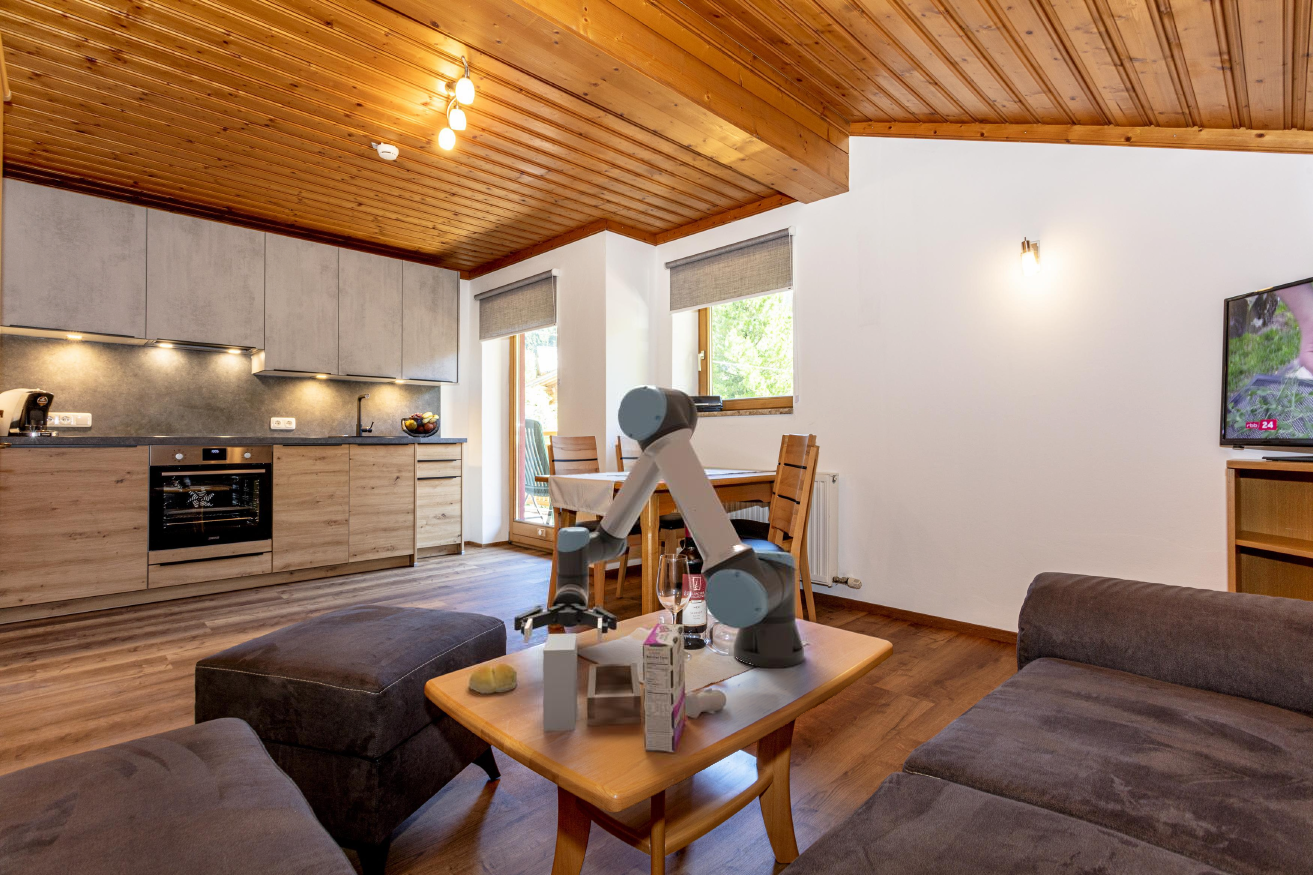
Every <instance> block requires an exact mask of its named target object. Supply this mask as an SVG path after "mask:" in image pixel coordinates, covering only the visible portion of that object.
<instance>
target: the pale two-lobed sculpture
mask: <svg viewBox="0 0 1313 875" xmlns="http://www.w3.org/2000/svg"><path fill="white" fill-rule="evenodd" d="M726 696H727V695H726V694H725V693H724V692H723V691H722V690H720V689H716V688H715V689H713V688H711V687H710V688H708V689H705V690H702V691H700V692H699V693H697V694H696V693H694V691H688V692H687V693H686V694H685V715H686V716H688V717H690V718H692V719H694V720H695V719H697V718H698V717H699V715H700V713H702V712H703V713H705V712H706V713H708V714H710V715H711V714H716V712H717V711H720V710H722V709H723V708H724V707H725V706H726V704H727V697H726Z"/></svg>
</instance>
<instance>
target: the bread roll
mask: <svg viewBox="0 0 1313 875" xmlns="http://www.w3.org/2000/svg"><path fill="white" fill-rule="evenodd" d="M517 674H518V673H517V669H515V668H514V667H512V666H511V665H510V664H506V663H501V664H500V663H499V664H497V665H495V666H494V667H492V666H488V665H487V666H485V665H484V666H480V667H479V668H477V669H476V670H474V671H473V672H472V673H471V675H470V676H469V680H468V686H469V688H470V689H471V690H472V689H473V690H475V691H474V692H476V691H477V692H476V693H478V692H481V693H480V694H484V693H486V694H493V693H495V692H496V693H505V692H507V691H511V690H513V689H514V688H516V687H517V684H518V676H517ZM473 690H472V691H473Z"/></svg>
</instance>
